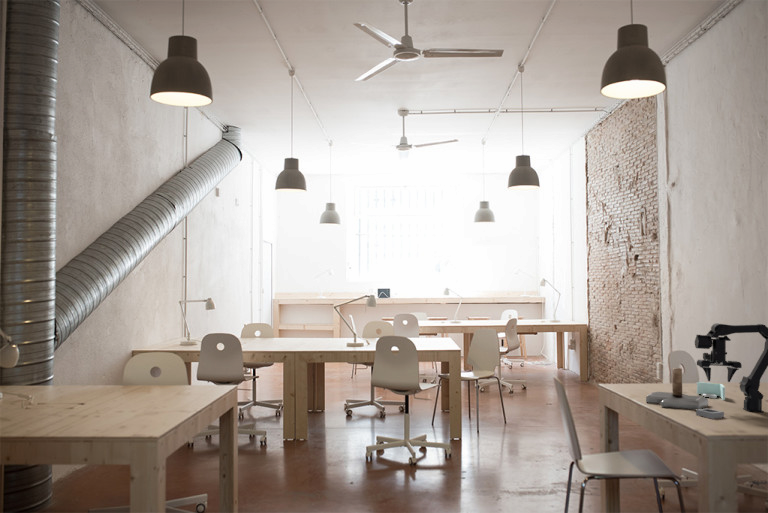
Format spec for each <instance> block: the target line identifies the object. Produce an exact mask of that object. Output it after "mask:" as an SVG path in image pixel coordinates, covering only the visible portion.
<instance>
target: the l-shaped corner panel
mask: <svg viewBox="0 0 768 513" xmlns="http://www.w3.org/2000/svg"><path fill="white" fill-rule="evenodd" d="M697 394H702V395H701V396H704V397H709V398H708V399H711V398H712V399H717V398H718V397H717V396H720V397H721V398H722V399H721V398H720V397H719V398H720V399H721V401H723V400H725V401H726V387H725V385H723V383H715V382H714V383H713V382H704V381H702V382H701V381H696V395H697Z"/></svg>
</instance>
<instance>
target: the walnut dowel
mask: <svg viewBox="0 0 768 513" xmlns="http://www.w3.org/2000/svg"><path fill="white" fill-rule="evenodd" d="M671 376H672V377H671V378H672V379H671V380H672V381H671V382H672V389H671V390H672V393H673V395H682V394H683V368H681V367H672V369H671Z"/></svg>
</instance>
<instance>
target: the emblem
mask: <svg viewBox="0 0 768 513" xmlns="http://www.w3.org/2000/svg"><path fill="white" fill-rule="evenodd" d="M702 396H703V395H689V394H686V393H685V394H684V393H682V395H673V392H669V391H668V392H666V391H664V392H663V391H656V392H655V391H654V392H651V393H649V394H648V395H646V396H645V403H646V402H648V403H647V404H652V403H660V404H659V406H661V407H663V408H667V407H673V408H672V409H681V408H683V409H685V410H693V409H701V408H703V407H705V406H706V407H708V406H709V398H705V397H702ZM707 405H708V406H707ZM706 407H705V408H706ZM683 409H682V410H683ZM703 409H704V408H703Z"/></svg>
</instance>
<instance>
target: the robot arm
mask: <svg viewBox="0 0 768 513" xmlns="http://www.w3.org/2000/svg"><path fill="white" fill-rule="evenodd" d="M746 333H749V334H751V333H758V334H759V335H760V336H761V337H762V338H764V339H765V341H764V347H763V351H762V353H761V354H760V356H759V358H758V359H757V362H756V363H755V365H754V367H753V369H752V371H751V372H750V374H749V375H748V376H742V379H741V381H740V382H739V389H740V391H741V392H742V393H743V395H744V400H743V408H742V410H745V409H746V410H745V411H747V410H748V412H750V411H761V412H760V413H764V412H765V410H762V409H763V407H762V406H763V399H764V394H762V392H760V391H759V389H760V386H761V384H760V383H761V380H762V377H763V375H764V373H765V372H766V370H767V368H768V327H767V325H766V324H763V323H757V324H737V325H735V324H733V325H732V324H725V323H713V324H712V325H711V326H710V330H709V331H708V333H707V334H705V335H704V334H696V337H695V339H694V347H695V349H701V350H702V349H703V350H704V349H705V350H706V349H707V350H710V349H711V348H712V350H710V353H708V352H703V353H702V359H697V360H696V366H698V367H699V368H701V369H703V372H704V374H705V377H706V379H707V382H711V379H712V378H711V374H712V367H710V366H716V367H718V366H721V367H726V370H727V379H726V380H727V382H728V383H731V381H732V378H733V377H734V375H735V373H736V372H737V371H738V370H739V369H742V368H743V367H742V362H740V361H737V360H727V356H726V355H728V352H727V350H726V347H727V346H726V344H727V341H728V342H729V341H731V339H730V338H729V337H728V335H732V334H746Z"/></svg>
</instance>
